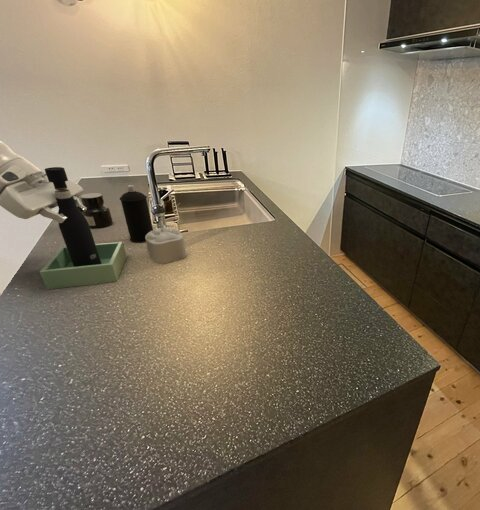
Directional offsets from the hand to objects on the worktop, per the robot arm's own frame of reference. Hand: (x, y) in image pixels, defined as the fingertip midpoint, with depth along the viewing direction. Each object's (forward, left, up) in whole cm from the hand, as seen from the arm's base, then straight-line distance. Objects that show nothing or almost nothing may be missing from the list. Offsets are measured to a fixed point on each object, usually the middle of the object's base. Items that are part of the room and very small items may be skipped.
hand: (74, 215), depth 85 cm
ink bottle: (-7, +41, -18) cm, 45 cm away
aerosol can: (+10, +23, -18) cm, 31 cm away
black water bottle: (-1, 0, -17) cm, 17 cm away
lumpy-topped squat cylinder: (+19, +7, -18) cm, 27 cm away
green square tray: (-1, 0, -18) cm, 18 cm away
